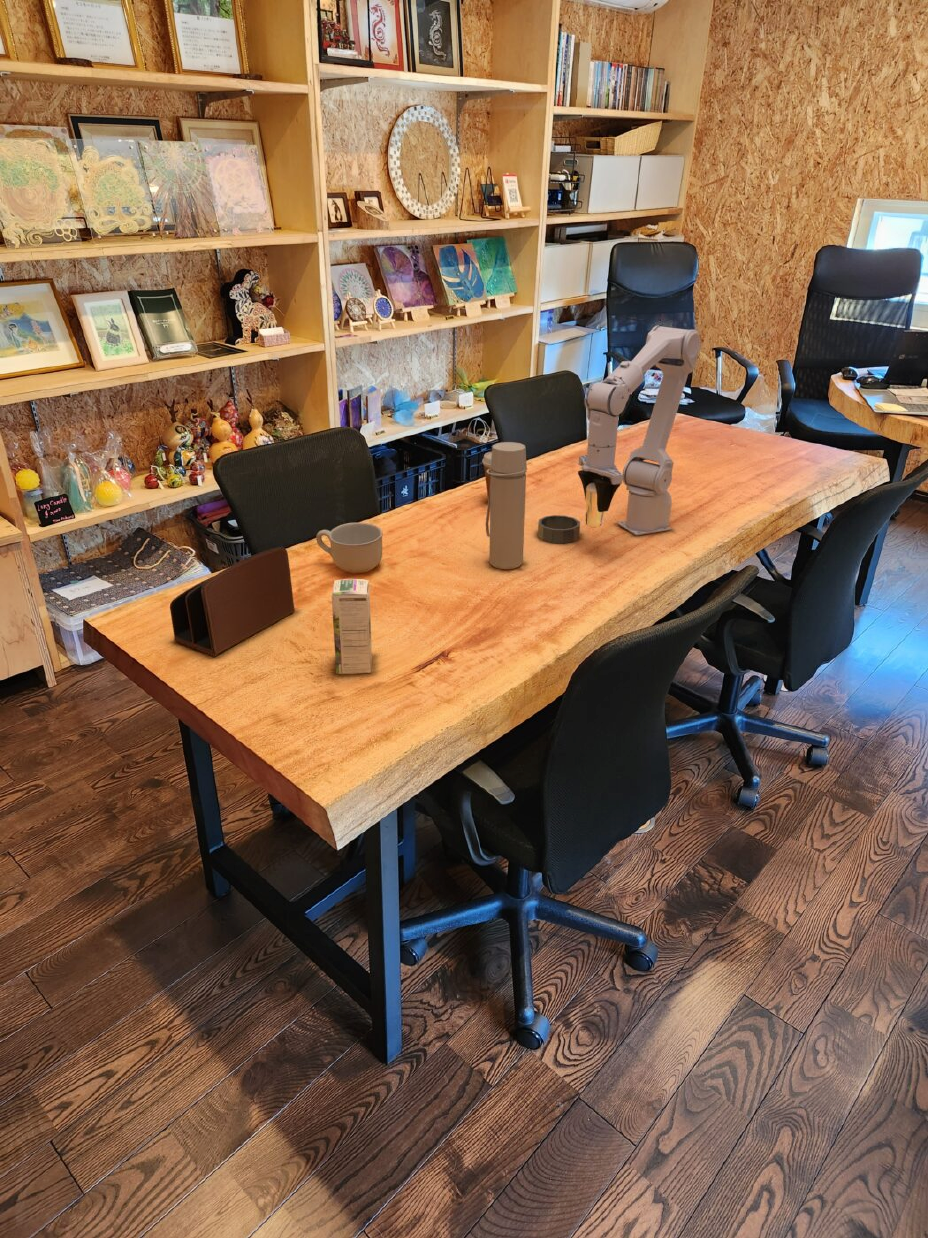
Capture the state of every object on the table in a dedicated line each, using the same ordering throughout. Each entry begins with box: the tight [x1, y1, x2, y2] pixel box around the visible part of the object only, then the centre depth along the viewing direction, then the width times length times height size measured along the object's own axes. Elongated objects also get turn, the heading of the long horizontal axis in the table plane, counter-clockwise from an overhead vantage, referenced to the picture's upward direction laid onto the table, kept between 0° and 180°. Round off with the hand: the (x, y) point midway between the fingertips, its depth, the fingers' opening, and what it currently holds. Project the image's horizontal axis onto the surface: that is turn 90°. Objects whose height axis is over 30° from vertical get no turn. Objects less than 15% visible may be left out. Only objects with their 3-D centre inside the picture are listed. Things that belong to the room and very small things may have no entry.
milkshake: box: [585, 483, 605, 529], centre depth 173 cm, size 4×5×10 cm
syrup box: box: [331, 578, 373, 675], centre depth 133 cm, size 6×6×14 cm
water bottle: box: [485, 441, 528, 570], centre depth 167 cm, size 9×8×25 cm
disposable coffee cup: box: [482, 451, 492, 499], centre depth 203 cm, size 10×10×12 cm
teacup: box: [315, 522, 383, 575], centre depth 170 cm, size 14×11×8 cm
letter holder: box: [169, 546, 296, 657], centre depth 145 cm, size 10×20×14 cm, turn 148°
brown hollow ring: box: [537, 514, 581, 545], centre depth 186 cm, size 9×9×3 cm
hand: (596, 507), depth 174 cm, fingers closed on milkshake, 4 cm apart
